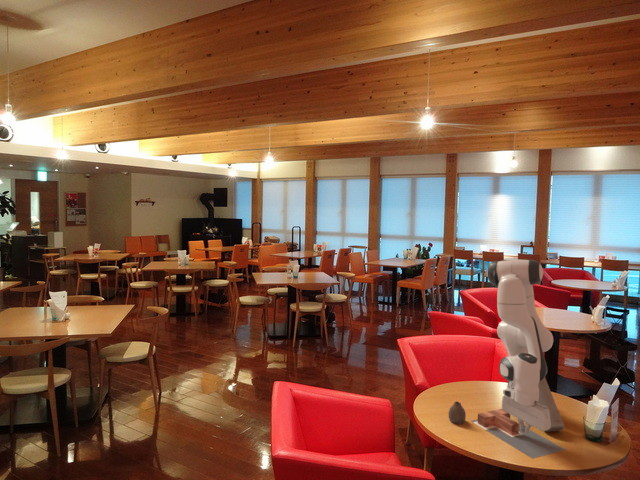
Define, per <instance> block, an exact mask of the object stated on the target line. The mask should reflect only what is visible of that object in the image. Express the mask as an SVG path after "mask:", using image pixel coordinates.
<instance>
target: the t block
mask: <svg viewBox="0 0 640 480" xmlns="http://www.w3.org/2000/svg"><path fill="white" fill-rule="evenodd" d="M477 419H478V424H480V425H481V426H483V427H489V426H493V425H494V426H496V427H498V428H500V429H501V430H503V431H505V432H507V433H508V434H510V435H514V434H518V433H519V422H518V421H515V420H514V419H512V418H511V414H509V413H507V412H505V411H503V409H502V408H499V409H495V410H490V411H484V412H479V413H477Z"/></svg>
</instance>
